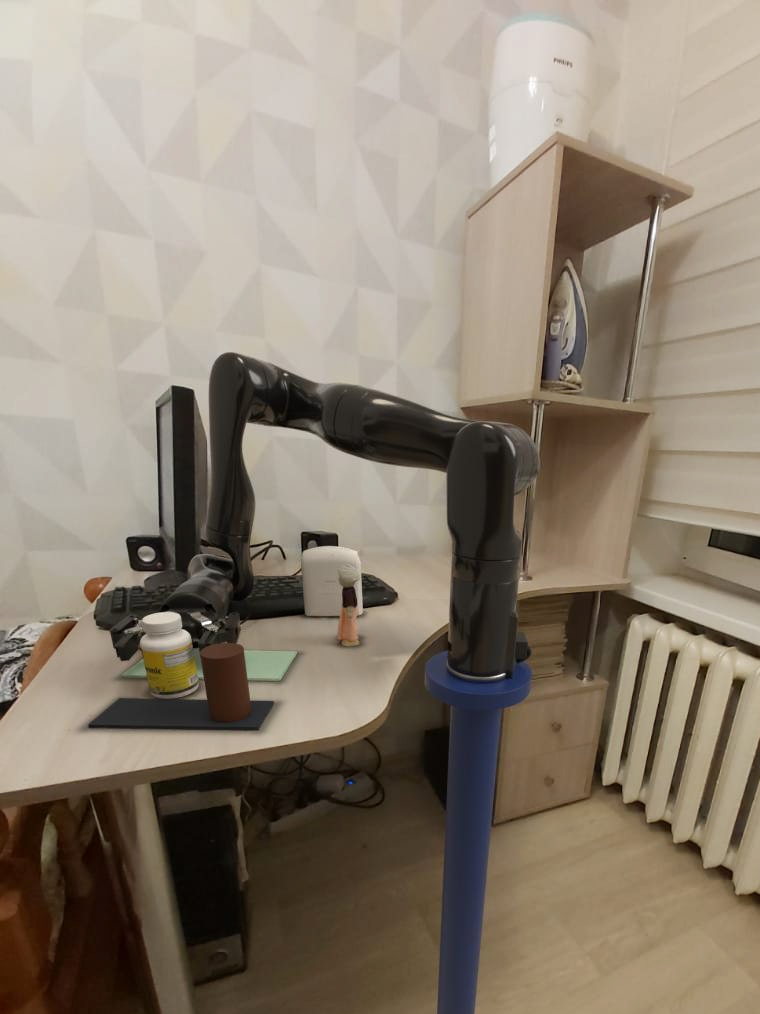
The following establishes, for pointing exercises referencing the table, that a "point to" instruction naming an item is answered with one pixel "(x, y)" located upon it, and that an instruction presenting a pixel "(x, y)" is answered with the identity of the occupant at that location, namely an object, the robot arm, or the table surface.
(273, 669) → the pale mat
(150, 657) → the supplement bottle
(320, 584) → the photo printer
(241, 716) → the brown cylinder
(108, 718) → the dark mat
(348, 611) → the grandmother figurine
